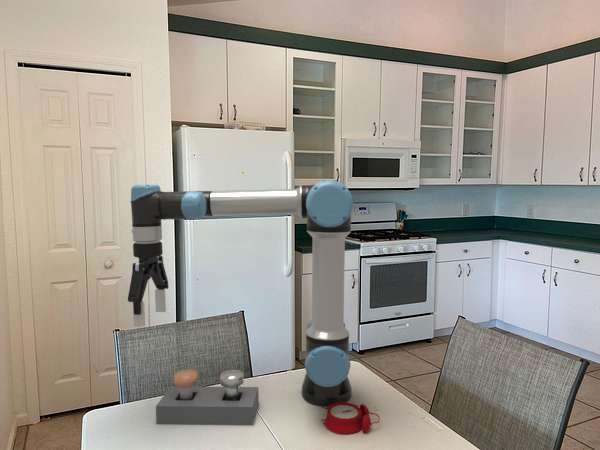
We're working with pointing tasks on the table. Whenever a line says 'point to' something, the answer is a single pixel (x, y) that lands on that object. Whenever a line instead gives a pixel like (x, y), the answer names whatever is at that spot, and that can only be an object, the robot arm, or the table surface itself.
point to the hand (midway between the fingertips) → (150, 318)
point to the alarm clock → (347, 418)
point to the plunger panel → (208, 407)
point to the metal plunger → (232, 383)
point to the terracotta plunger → (186, 383)
